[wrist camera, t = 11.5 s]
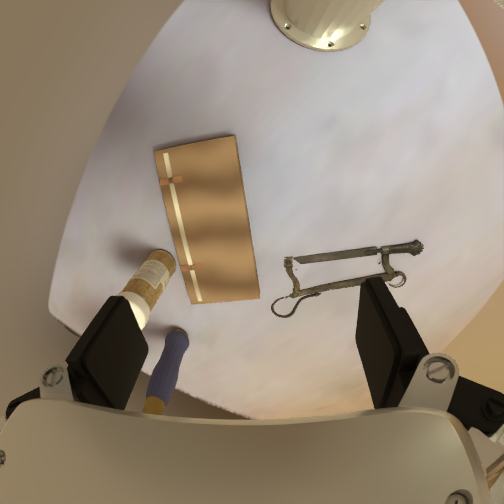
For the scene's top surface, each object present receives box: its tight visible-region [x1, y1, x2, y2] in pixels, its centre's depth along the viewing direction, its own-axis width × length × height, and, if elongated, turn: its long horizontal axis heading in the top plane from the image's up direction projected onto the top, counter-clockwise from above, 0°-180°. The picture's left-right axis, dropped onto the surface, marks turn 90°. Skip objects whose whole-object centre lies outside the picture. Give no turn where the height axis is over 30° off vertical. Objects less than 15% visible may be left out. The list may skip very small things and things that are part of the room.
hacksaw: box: [271, 241, 424, 318], centre depth 41 cm, size 24×10×2 cm, turn 99°
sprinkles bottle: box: [117, 250, 176, 330], centre depth 35 cm, size 5×5×13 cm
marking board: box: [154, 135, 260, 304], centre depth 37 cm, size 22×10×2 cm, turn 8°
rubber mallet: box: [142, 329, 189, 415], centre depth 33 cm, size 12×8×30 cm, turn 86°
